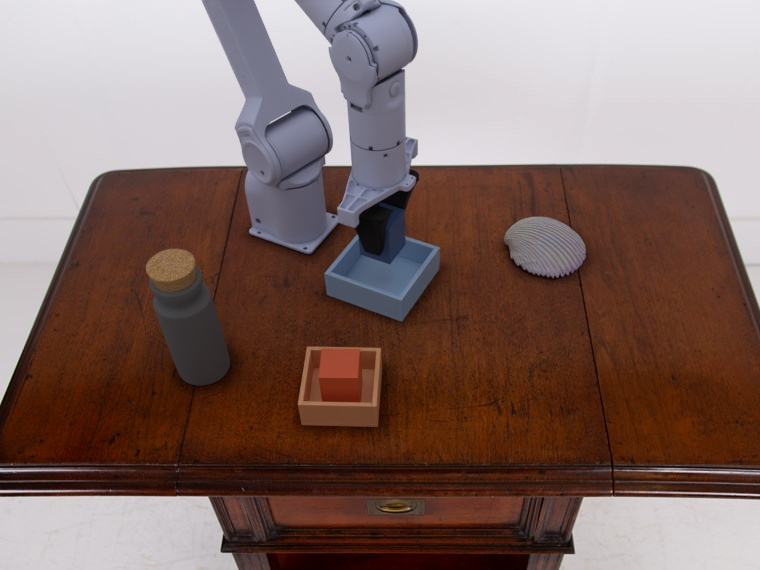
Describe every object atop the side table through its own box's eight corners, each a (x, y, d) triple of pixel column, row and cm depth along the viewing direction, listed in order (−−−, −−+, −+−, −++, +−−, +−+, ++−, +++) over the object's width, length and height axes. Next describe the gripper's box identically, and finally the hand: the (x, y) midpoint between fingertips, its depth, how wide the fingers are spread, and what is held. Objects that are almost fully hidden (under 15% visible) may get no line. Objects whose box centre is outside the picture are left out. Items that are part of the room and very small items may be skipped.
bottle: (207, 394, 82) (172, 293, 70) (166, 372, 84) (126, 271, 72) (241, 359, 85) (213, 257, 73) (202, 339, 87) (168, 236, 75)
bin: (326, 295, 91) (324, 273, 88) (367, 245, 97) (366, 223, 94) (401, 322, 88) (401, 300, 85) (439, 269, 94) (440, 247, 91)
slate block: (359, 254, 88) (357, 220, 84) (376, 234, 90) (374, 200, 86) (390, 264, 87) (388, 230, 83) (405, 244, 89) (405, 209, 85)
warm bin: (301, 425, 79) (297, 404, 76) (310, 367, 84) (306, 346, 81) (378, 427, 79) (376, 406, 76) (382, 369, 84) (381, 347, 81)
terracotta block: (322, 408, 80) (318, 377, 76) (326, 379, 82) (321, 348, 78) (360, 408, 80) (357, 377, 76) (362, 379, 82) (360, 348, 78)
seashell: (506, 200, 97) (586, 194, 94) (511, 235, 101) (588, 230, 98) (496, 250, 91) (582, 246, 88) (502, 285, 95) (584, 282, 92)
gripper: (378, 184, 72) (383, 289, 82) (443, 109, 80) (440, 214, 90) (314, 165, 74) (327, 270, 84) (384, 93, 82) (388, 198, 92)
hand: (382, 240), depth 87 cm, fingers closed on slate block, 4 cm apart
